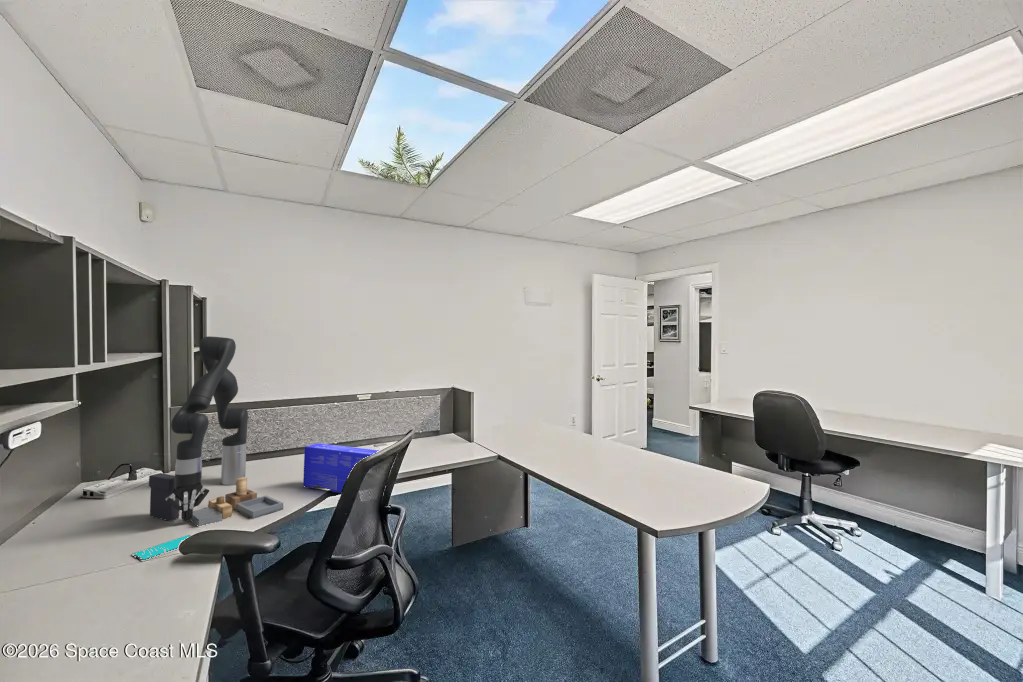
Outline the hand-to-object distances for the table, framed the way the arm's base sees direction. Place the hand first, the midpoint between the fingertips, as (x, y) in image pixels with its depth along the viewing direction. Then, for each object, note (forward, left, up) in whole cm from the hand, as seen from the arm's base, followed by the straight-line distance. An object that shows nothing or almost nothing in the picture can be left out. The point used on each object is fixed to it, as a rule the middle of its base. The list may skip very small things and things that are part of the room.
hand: (186, 520), depth 150 cm
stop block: (0, +10, -1) cm, 10 cm away
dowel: (-4, +19, -1) cm, 20 cm away
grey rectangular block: (+2, +5, -2) cm, 6 cm away
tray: (+7, +21, -1) cm, 22 cm away
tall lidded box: (-12, -3, -1) cm, 13 cm away
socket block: (-4, +19, -1) cm, 20 cm away
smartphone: (+16, -11, -2) cm, 19 cm away
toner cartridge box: (+14, +53, -2) cm, 55 cm away
